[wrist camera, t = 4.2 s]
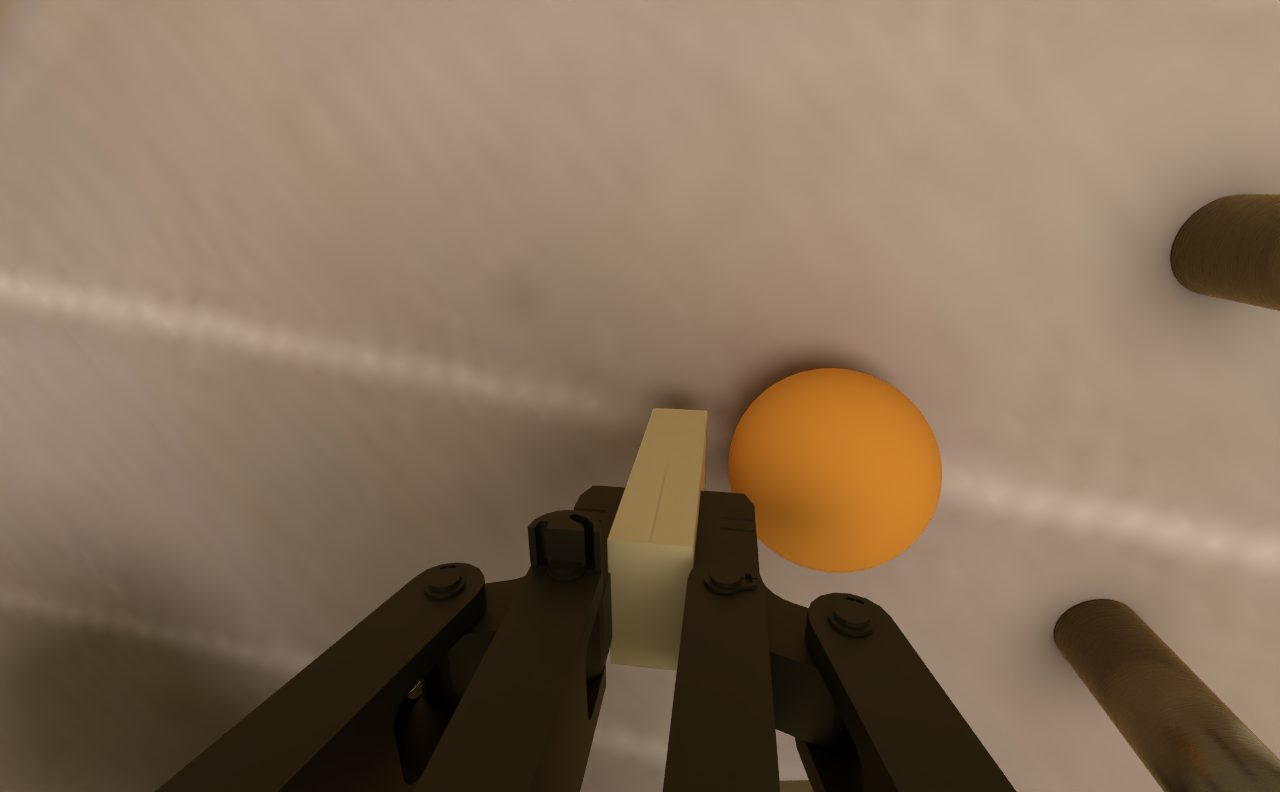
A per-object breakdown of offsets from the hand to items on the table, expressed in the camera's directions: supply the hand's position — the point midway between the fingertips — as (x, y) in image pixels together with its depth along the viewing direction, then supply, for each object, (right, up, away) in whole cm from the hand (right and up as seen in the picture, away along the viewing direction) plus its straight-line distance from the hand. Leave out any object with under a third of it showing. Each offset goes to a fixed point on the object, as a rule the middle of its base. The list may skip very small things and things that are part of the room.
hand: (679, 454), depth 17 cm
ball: (+4, 0, 0) cm, 4 cm away
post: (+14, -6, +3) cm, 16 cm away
